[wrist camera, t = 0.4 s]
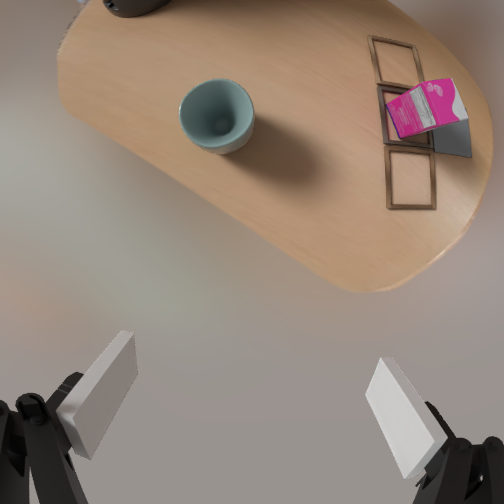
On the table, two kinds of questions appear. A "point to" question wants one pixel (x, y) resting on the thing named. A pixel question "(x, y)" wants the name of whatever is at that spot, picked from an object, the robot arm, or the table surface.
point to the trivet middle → (384, 126)
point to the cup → (217, 116)
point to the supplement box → (426, 108)
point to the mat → (453, 139)
